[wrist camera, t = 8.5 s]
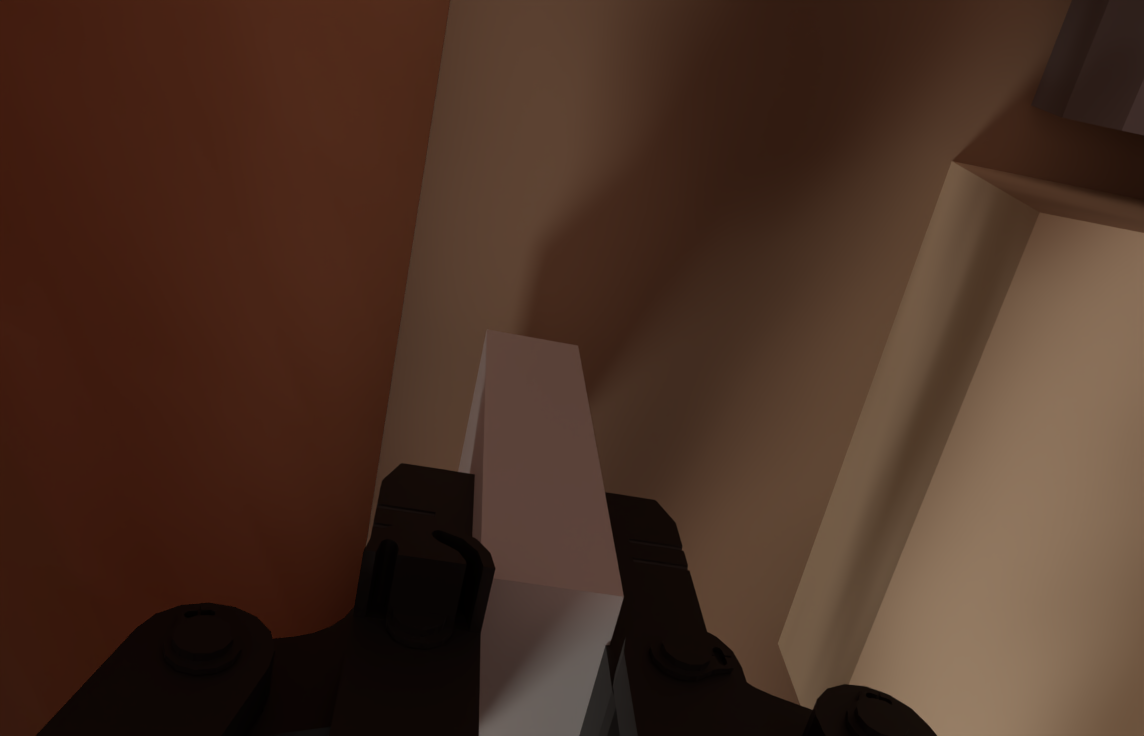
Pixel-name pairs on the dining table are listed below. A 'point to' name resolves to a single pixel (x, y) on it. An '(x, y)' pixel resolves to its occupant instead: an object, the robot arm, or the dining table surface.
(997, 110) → the board
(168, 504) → the dining table surface
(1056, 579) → the thin beige square tile
